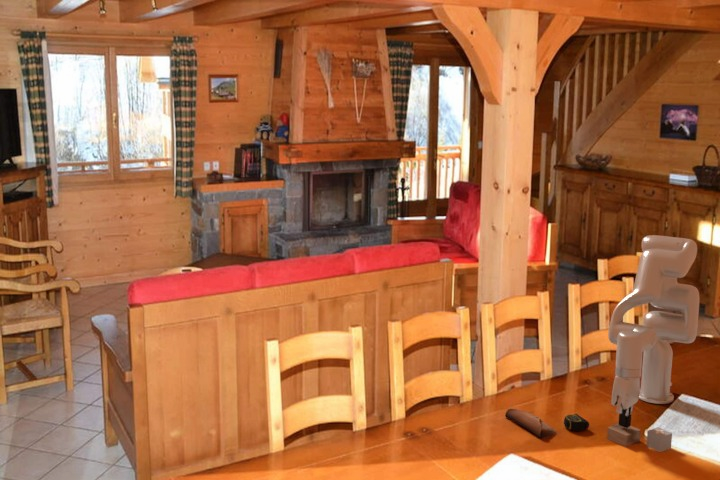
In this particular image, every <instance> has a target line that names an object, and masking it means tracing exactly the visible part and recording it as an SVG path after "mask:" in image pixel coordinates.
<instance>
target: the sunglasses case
mask: <svg viewBox="0 0 720 480" xmlns="http://www.w3.org/2000/svg"><path fill="white" fill-rule="evenodd" d="M505 418H507V419H508V420H510V421H512V422H514V423H517V424H518V425H519V426H521V427H523V428H524V429H527V431H529V432H531V433H533V434H534V435H535V436H537V437H539V438H540V439H541V440H542V438H543V439H545V438H546V439H547V438H549V436H550V437H552V436H556V435H559V432H558V431H557V430H555V429H554V428H553V427H552V426H550V425H549V424H548V423H546V422H545V421H543V420H542V418H540V417H539V416H537V415H534V414H532V413H530V412H527V411H525V410H521V409H517V408H508V409H507V410H506V411H505Z"/></svg>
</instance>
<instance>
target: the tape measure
mask: <svg viewBox="0 0 720 480" xmlns="http://www.w3.org/2000/svg"><path fill="white" fill-rule="evenodd" d="M563 425H564V427H565V428H566V429H568V430H570V431H575V432H581V431H584V430H587V429H589V427H590V422H589V421H588V420H586V418H583V416H581V415H579V414H578V413H574V414H567V415H566V416H564V418H563Z"/></svg>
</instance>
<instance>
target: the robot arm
mask: <svg viewBox="0 0 720 480" xmlns="http://www.w3.org/2000/svg"><path fill="white" fill-rule="evenodd" d="M641 251H642V253H641V254H640V257H639V261H638V266H637V270H636V271H637V272H636V274H635V278H634V283H633V287H632V290H631V292H630V293H628V294H627V295H626V296H624V297H623V298H622V299H621V300H620V301H619V302H618V303H617V305H616V306H615V307H614V309H613V312H612V314H611V317H610V322H609V327H608V332H607V334H608V336H607V337H608V340H609V341H610V343H612V344H613V345H616V352H615V353H616V354H615V366H614V367H615V370H614V372H615V373H614V374H615V377H614V380H613V385H612V392H611V401H610V403H611V406H612V407H615V406H616V409H615V412H616V413H618V423H619V425H620V426H623V427H626V428H628V427H630V426H632V414H633V407H634V405H635V404H637V403H638V401H639V400H641V401H644V402H646V403H650V404H655V405H666V404H670V403H672V402H673V401H674V400H675V395H674V394H673V393H672V392H671V390H670V389H671V386H672V385H673V382H672V381H671V379H672V377H671V376H672V365H673V355H674V353H673V349H672V346H671V345H670V343H669V342H668V341H670V342H676V343H682V344H692V343H693V342H694V341H695V340H696V338H697V334H698V325H699V315H700V314H699V311H700V292H699V290H698V288H697V287H696V286H694V285H691V284H685V283H679V282H678V279H682V278H684V277H686V275H687V274H688V273H689V270H690V269H691V267H692V265H693V264H694V262H695V260H696V258H697V254H698V245H697V242H696V241H695V240H693V239H691V238H685V237H678V236H677V237H675V236H667V235H656V234H652V235H646V236H644V237H643V238H642V239H641ZM647 304H650V305H651V306H652V307H654V308H657V309H662V310H668V311H673V312H674V311H675V312H679V313H673V312H668V311H662V310H661V311H660V310H652V311H647V312H646V313H645V315H644V316H643V319H642V324H638V323H632V322H631V323H630V322H626V321H622V320H623V318H624V316H625V315H626V313H627V312H629V311H630V310H632V309H634V308H636V307H640V306H642V305H647ZM680 313H681V314H680ZM640 379H641V380H640Z"/></svg>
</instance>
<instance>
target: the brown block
mask: <svg viewBox="0 0 720 480" xmlns="http://www.w3.org/2000/svg"><path fill="white" fill-rule="evenodd" d="M606 430H607V431H606V439H607V440H609V441H611V442H614V443H615V444H618V445H620V446H623V447H624V448H627V447H629V446H632V445H633V444H636V443H639V442H640V441H641V429H640V428H637V427H634V426H633V425H631V426H630V427H628V428H626V427H623V426H620V425H619V422H618V423H615V424H613V425H611V426H608V427H607V429H606Z"/></svg>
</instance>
